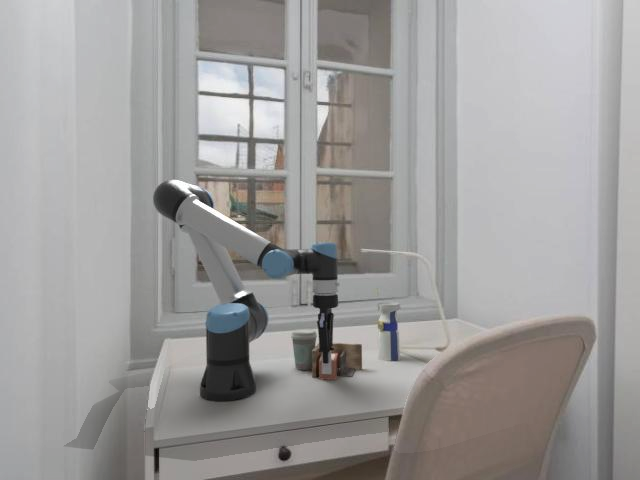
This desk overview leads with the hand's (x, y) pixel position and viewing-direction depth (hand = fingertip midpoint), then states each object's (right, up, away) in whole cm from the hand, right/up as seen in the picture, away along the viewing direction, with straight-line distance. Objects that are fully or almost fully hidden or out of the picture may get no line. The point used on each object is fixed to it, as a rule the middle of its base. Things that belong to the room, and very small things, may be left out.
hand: (326, 373), depth 121 cm
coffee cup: (-7, -3, +13) cm, 15 cm away
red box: (+1, -2, +5) cm, 6 cm away
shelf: (+4, -2, +7) cm, 8 cm away
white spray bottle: (+23, -2, +23) cm, 32 cm away
